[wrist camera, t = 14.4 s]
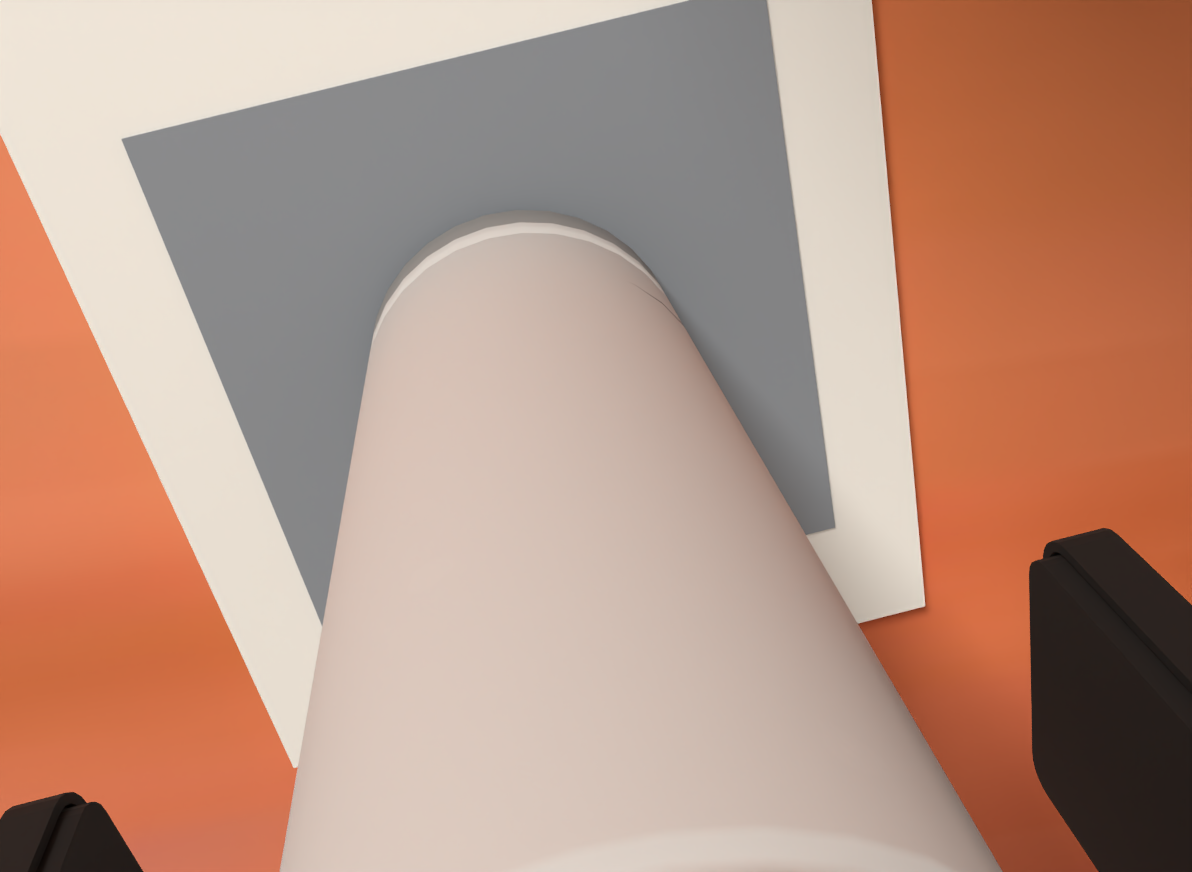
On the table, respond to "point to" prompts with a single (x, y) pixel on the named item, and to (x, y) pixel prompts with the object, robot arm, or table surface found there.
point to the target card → (435, 205)
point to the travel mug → (587, 605)
